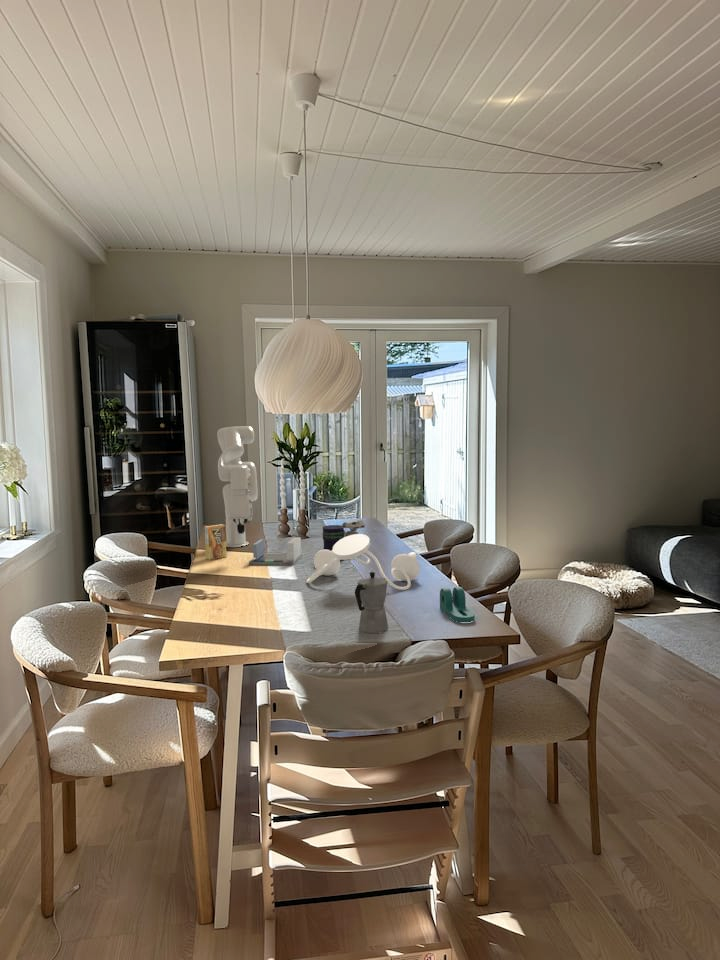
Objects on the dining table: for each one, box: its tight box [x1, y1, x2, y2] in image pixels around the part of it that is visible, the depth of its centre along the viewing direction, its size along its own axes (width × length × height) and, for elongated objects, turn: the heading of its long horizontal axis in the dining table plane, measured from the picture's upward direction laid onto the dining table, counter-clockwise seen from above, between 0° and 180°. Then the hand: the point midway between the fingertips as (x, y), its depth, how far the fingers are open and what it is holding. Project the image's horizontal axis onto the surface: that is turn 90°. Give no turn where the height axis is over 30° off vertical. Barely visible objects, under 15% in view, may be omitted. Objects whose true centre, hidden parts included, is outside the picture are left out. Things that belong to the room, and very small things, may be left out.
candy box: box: [204, 523, 227, 561], centre depth 318 cm, size 9×4×15 cm, turn 129°
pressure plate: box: [252, 538, 265, 560], centre depth 310 cm, size 14×2×7 cm, turn 172°
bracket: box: [439, 586, 476, 622], centre depth 223 cm, size 18×7×8 cm, turn 11°
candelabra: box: [306, 533, 421, 591], centre depth 269 cm, size 20×45×37 cm
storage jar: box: [322, 524, 345, 562], centre depth 310 cm, size 10×10×15 cm
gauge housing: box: [248, 536, 303, 566], centre depth 310 cm, size 18×20×10 cm
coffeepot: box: [354, 571, 389, 634], centre depth 210 cm, size 15×9×18 cm, turn 144°
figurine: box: [341, 519, 366, 537], centre depth 326 cm, size 9×12×15 cm
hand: (241, 533), depth 310 cm, fingers closed
